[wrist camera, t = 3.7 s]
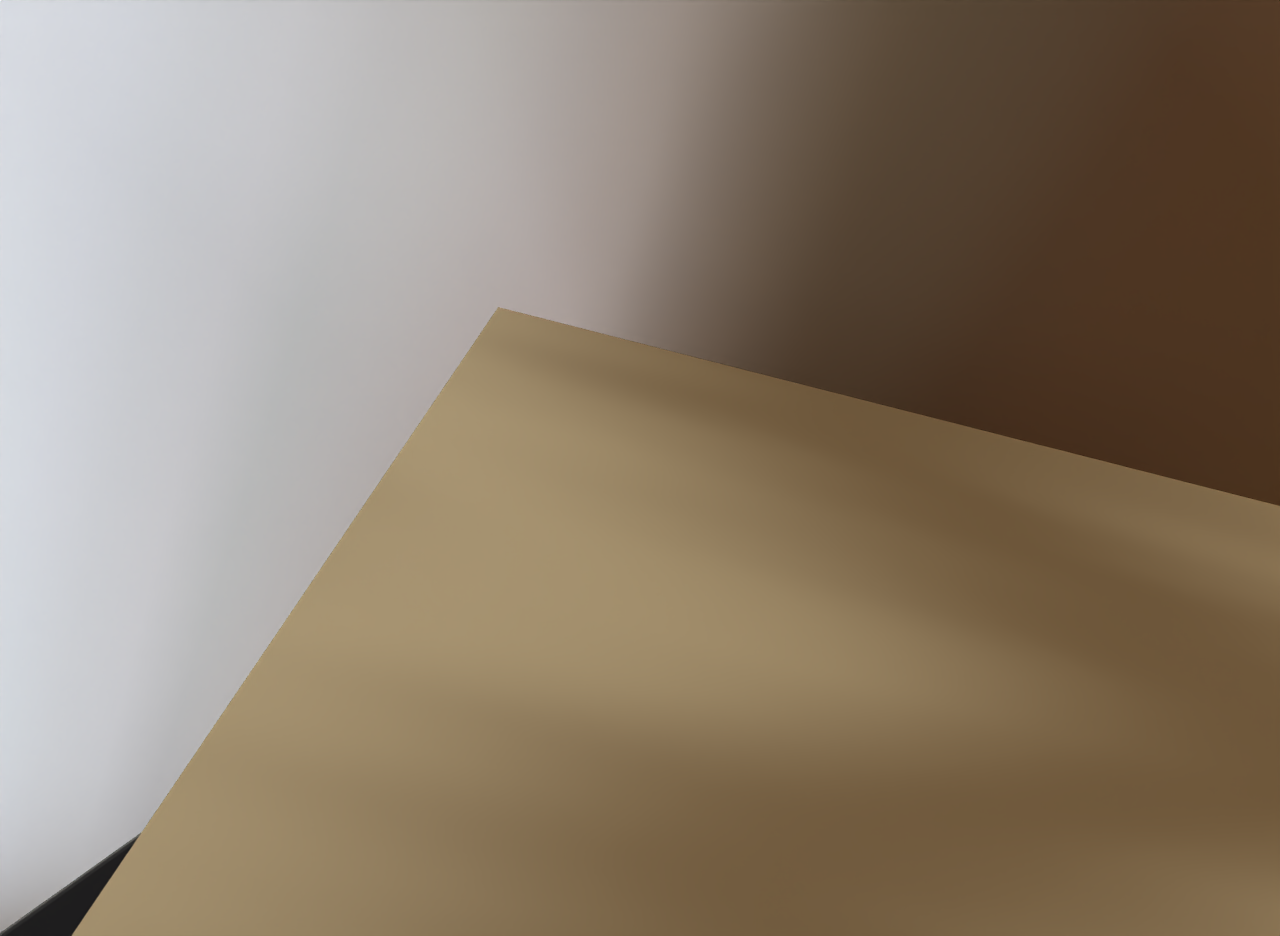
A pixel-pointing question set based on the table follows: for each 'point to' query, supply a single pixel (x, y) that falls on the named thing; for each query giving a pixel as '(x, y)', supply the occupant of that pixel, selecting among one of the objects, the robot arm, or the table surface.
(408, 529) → the birch cube
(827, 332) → the table surface
